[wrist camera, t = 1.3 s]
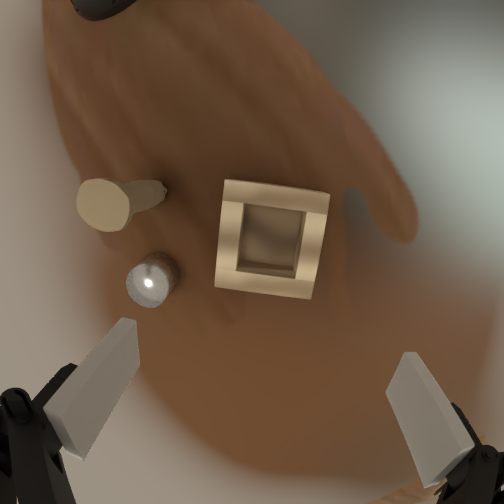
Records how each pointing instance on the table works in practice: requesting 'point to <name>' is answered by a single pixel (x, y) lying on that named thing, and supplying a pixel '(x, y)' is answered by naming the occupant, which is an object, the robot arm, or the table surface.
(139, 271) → the round plug
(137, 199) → the handle
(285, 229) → the socket block
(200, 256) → the table surface
